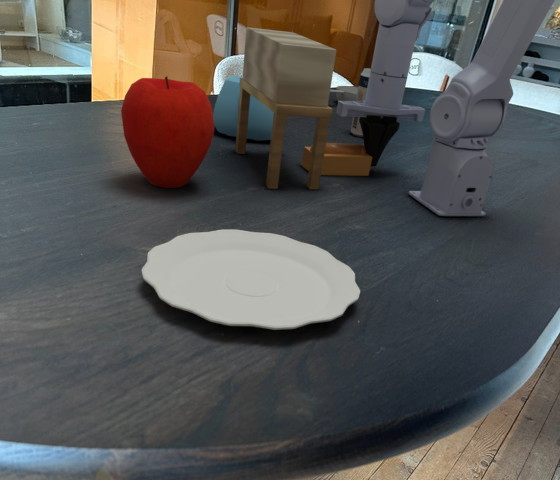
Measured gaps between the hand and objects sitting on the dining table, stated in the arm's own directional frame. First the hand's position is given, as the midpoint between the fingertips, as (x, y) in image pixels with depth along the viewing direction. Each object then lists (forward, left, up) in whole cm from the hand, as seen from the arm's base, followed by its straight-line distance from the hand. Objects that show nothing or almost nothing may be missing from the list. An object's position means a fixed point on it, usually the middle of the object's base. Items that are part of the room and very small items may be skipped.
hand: (370, 164), depth 97 cm
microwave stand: (0, +17, -1) cm, 17 cm away
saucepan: (+54, -19, -1) cm, 57 cm away
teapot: (+22, +15, -1) cm, 26 cm away
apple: (-8, +35, -1) cm, 36 cm away
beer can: (+25, -10, -1) cm, 27 cm away
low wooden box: (0, +6, -1) cm, 6 cm away
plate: (-39, +32, -1) cm, 50 cm away
